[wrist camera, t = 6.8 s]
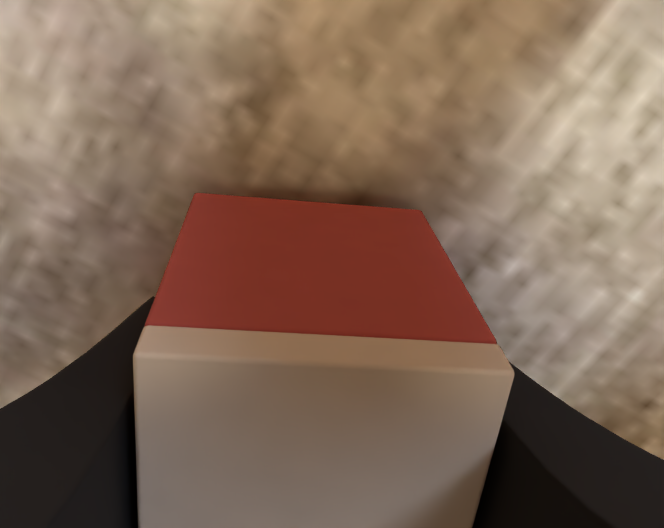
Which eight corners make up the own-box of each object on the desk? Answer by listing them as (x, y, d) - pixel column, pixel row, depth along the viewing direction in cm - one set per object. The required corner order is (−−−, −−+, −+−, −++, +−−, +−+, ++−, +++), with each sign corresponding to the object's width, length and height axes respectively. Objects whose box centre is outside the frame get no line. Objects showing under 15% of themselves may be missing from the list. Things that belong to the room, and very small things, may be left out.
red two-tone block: (382, 430, 13) (435, 669, 9) (190, 424, 13) (141, 671, 8) (421, 209, 11) (517, 372, 7) (193, 190, 11) (131, 353, 6)
